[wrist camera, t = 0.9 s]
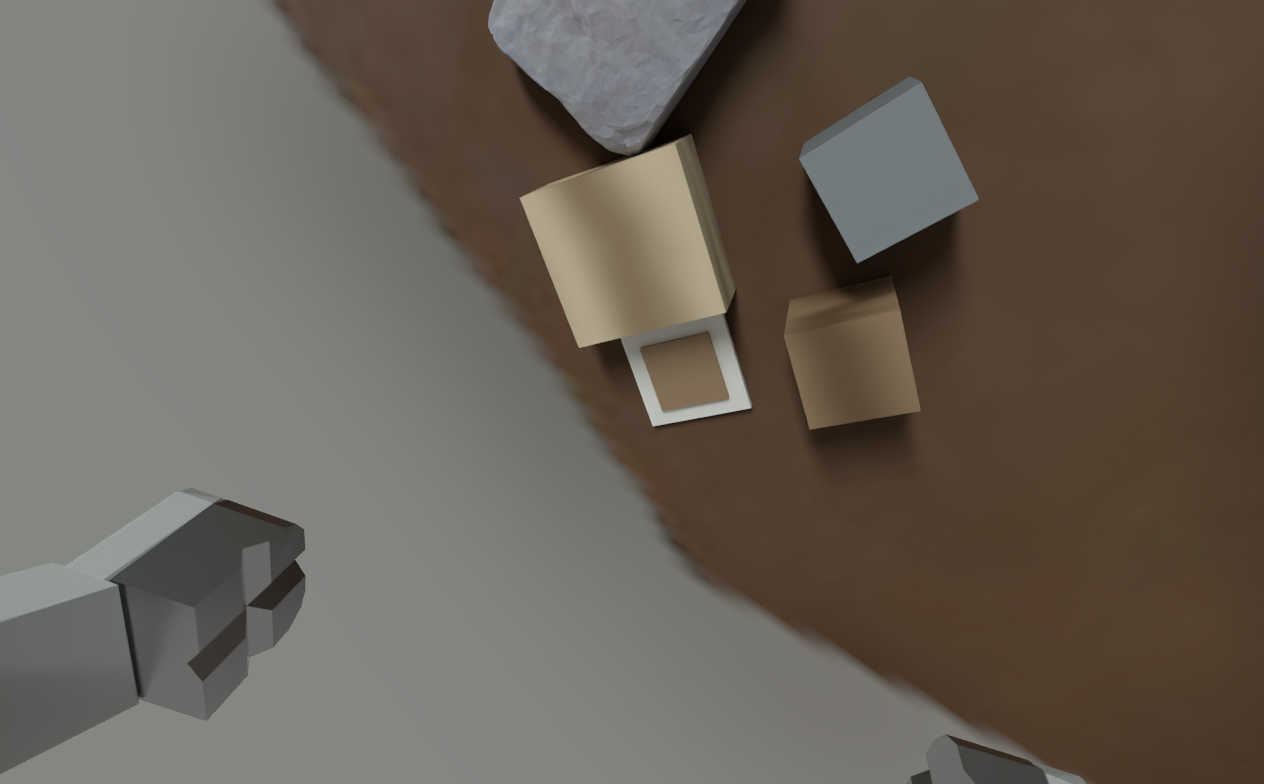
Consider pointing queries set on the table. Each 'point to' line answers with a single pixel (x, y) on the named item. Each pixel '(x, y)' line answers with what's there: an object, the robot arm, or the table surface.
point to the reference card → (687, 370)
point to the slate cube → (887, 170)
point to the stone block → (613, 57)
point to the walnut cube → (851, 354)
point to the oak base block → (633, 244)
